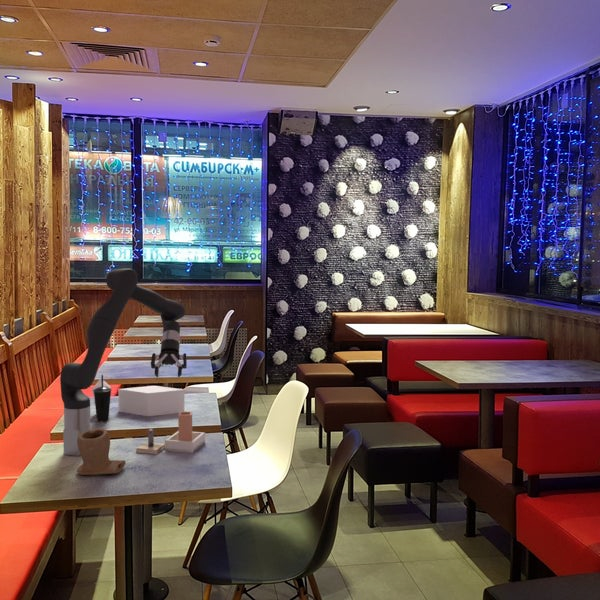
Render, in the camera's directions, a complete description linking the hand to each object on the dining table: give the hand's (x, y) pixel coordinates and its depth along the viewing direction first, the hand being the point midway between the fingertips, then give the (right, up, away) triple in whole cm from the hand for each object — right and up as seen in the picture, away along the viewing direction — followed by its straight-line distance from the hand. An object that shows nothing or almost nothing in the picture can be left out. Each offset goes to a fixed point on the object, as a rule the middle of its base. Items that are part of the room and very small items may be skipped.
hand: (167, 376), depth 262 cm
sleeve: (+9, -25, -11) cm, 29 cm away
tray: (+9, -26, -11) cm, 30 cm away
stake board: (-3, -26, -16) cm, 31 cm away
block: (-15, -21, +38) cm, 46 cm away
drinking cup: (-33, -22, +22) cm, 45 cm away
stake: (-3, -24, -16) cm, 29 cm away
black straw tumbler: (-37, -21, +33) cm, 54 cm away
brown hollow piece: (-15, -28, -41) cm, 52 cm away
